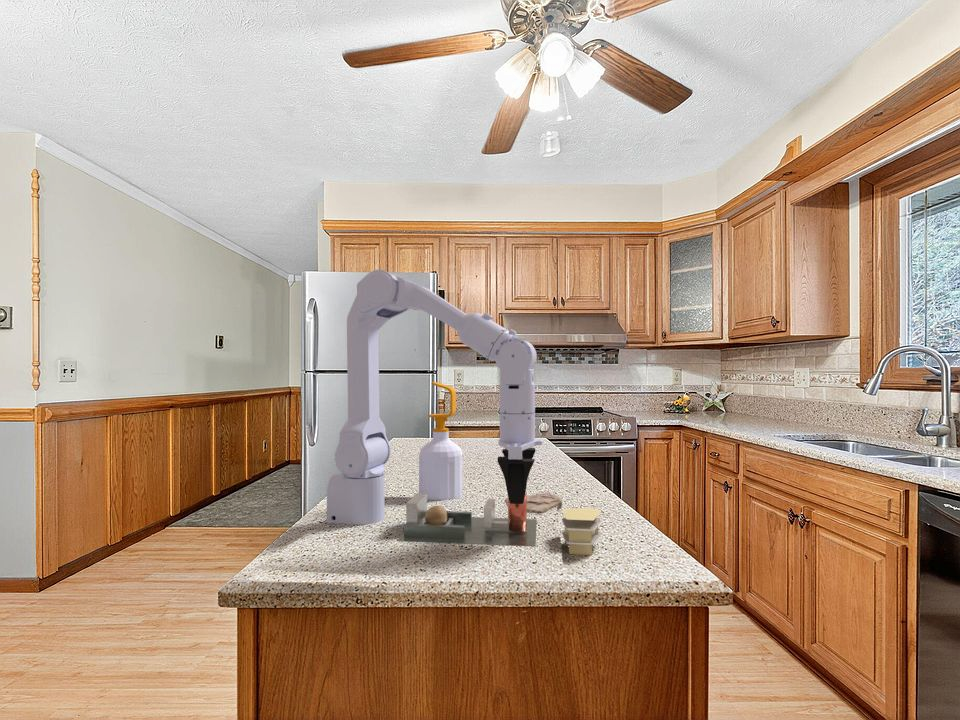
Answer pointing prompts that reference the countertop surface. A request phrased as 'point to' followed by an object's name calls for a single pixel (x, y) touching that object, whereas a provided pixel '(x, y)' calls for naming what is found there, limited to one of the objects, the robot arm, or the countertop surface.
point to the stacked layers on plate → (581, 529)
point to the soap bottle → (441, 459)
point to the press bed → (460, 528)
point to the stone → (541, 502)
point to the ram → (515, 516)
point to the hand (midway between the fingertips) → (517, 497)
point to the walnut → (436, 516)
